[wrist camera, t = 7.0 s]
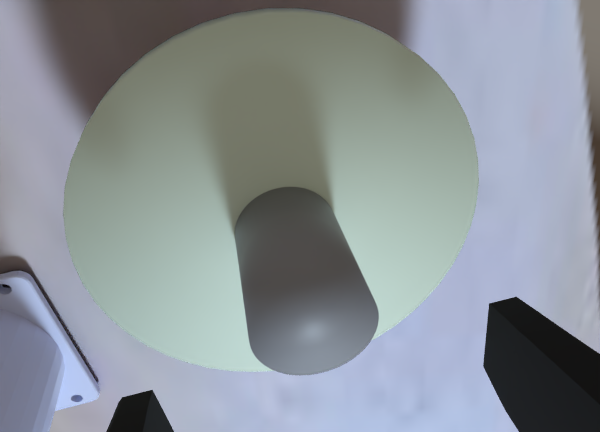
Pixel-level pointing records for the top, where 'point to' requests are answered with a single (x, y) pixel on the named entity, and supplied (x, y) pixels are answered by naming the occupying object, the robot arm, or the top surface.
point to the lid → (270, 191)
